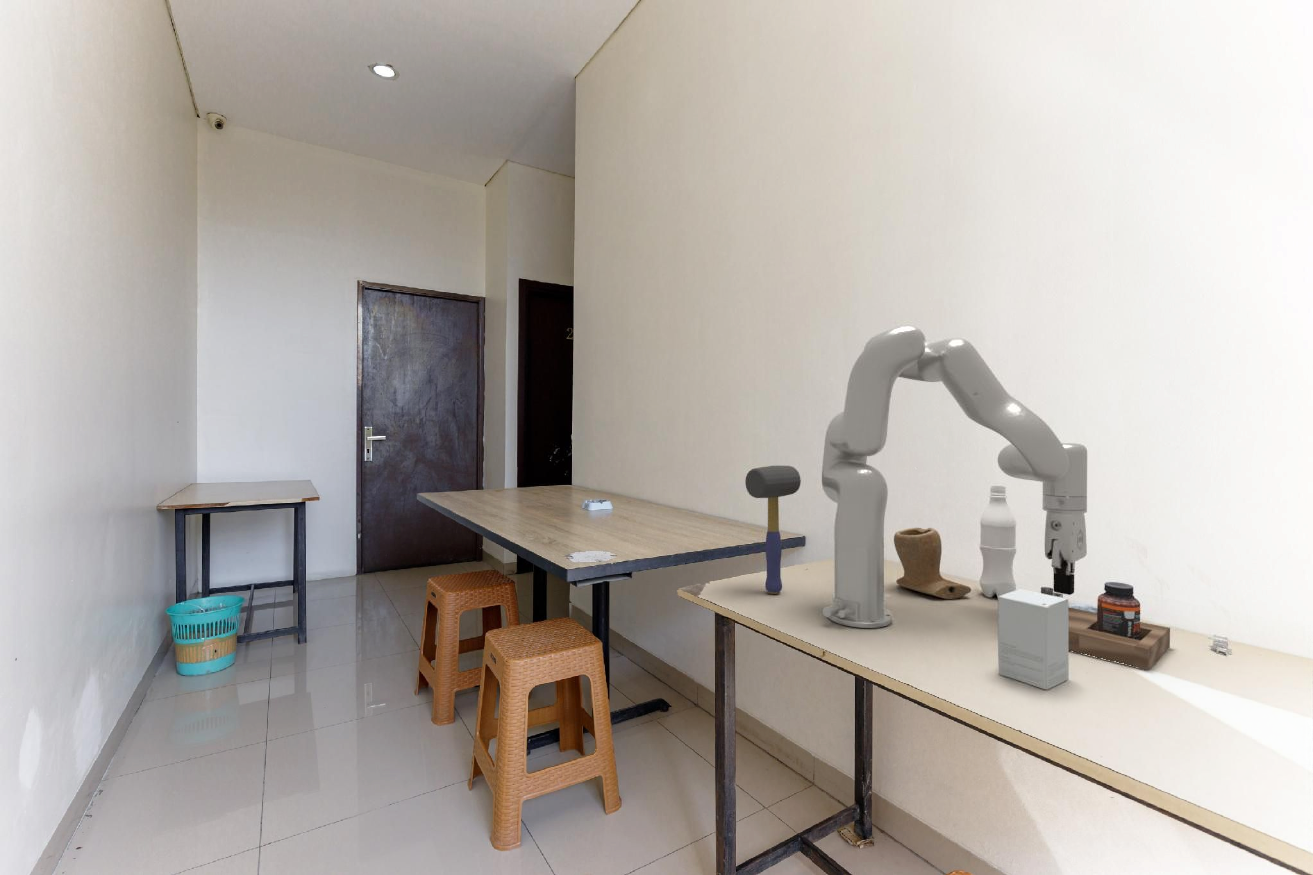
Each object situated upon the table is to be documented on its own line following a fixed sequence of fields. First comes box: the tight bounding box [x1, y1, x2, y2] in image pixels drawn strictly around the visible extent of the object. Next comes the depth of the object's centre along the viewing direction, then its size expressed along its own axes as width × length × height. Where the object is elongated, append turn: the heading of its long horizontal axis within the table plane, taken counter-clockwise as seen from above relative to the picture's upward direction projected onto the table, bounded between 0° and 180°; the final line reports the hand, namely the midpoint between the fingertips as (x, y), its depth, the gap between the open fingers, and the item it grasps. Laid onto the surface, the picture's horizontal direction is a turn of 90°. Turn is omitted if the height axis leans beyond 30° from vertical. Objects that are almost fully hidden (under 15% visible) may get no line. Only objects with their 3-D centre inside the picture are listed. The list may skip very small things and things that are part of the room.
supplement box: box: [997, 588, 1070, 691], centre depth 94 cm, size 7×7×13 cm
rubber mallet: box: [744, 465, 802, 595], centre depth 140 cm, size 12×8×30 cm, turn 125°
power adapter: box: [1207, 634, 1233, 657], centre depth 103 cm, size 3×3×3 cm
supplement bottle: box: [1096, 581, 1141, 640], centre depth 104 cm, size 6×6×11 cm
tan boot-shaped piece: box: [893, 527, 972, 600], centre depth 139 cm, size 15×12×15 cm
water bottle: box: [979, 485, 1017, 598], centre depth 136 cm, size 7×7×25 cm
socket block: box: [1068, 606, 1171, 671], centre depth 109 cm, size 15×22×4 cm
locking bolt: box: [1040, 586, 1064, 598], centre depth 117 cm, size 8×3×4 cm, turn 129°
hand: (1063, 592), depth 123 cm, fingers closed
